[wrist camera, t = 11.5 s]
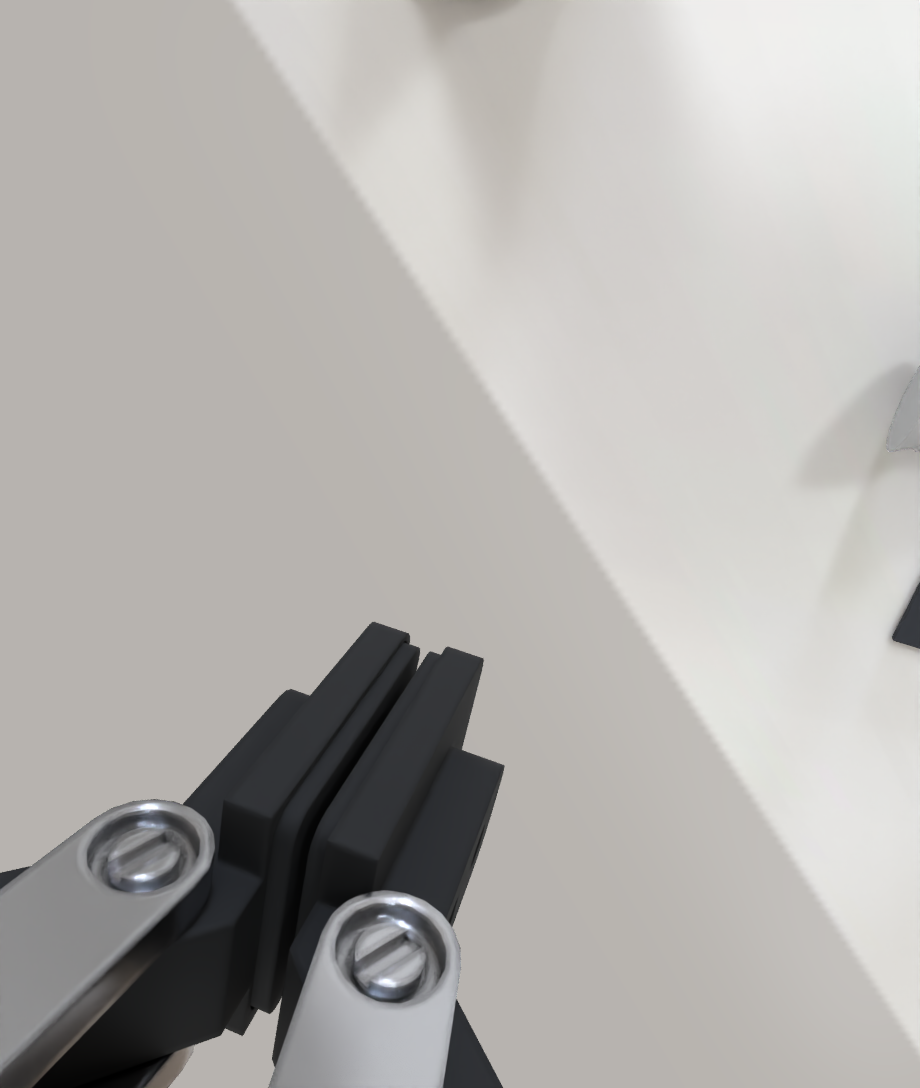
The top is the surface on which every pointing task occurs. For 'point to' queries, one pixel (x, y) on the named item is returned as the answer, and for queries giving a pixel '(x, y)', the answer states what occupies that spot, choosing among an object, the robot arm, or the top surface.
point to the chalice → (907, 419)
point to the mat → (910, 623)
